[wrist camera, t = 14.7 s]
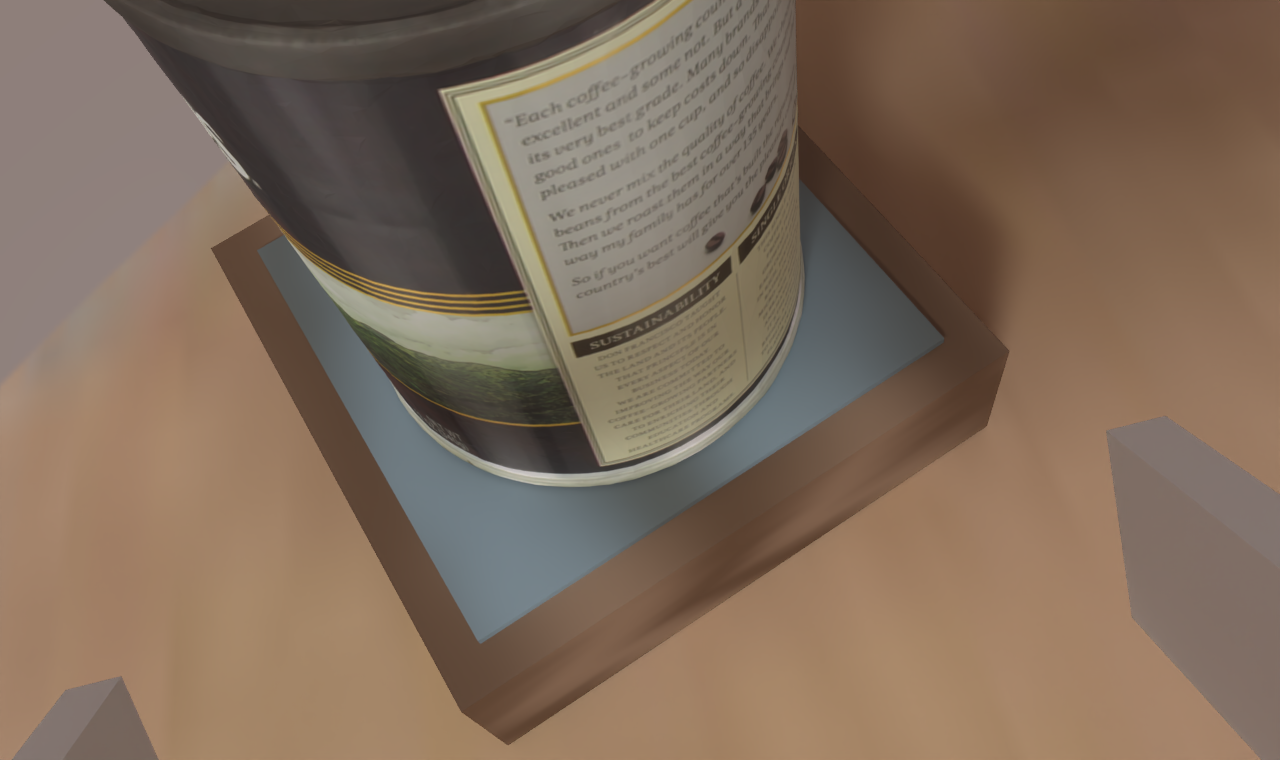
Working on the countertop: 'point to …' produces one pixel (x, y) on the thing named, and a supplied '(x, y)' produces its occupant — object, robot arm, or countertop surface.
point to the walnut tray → (647, 506)
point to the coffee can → (525, 204)
